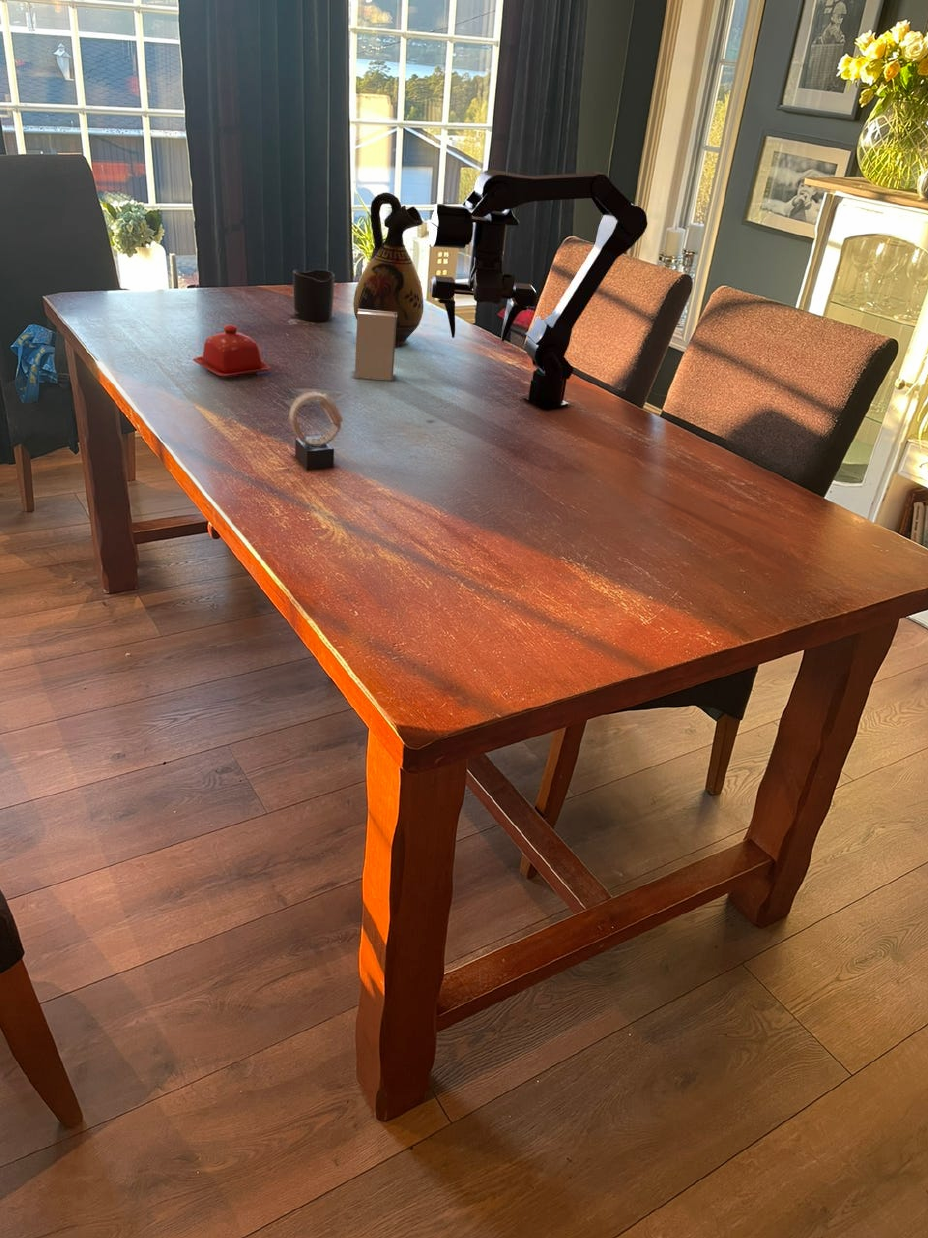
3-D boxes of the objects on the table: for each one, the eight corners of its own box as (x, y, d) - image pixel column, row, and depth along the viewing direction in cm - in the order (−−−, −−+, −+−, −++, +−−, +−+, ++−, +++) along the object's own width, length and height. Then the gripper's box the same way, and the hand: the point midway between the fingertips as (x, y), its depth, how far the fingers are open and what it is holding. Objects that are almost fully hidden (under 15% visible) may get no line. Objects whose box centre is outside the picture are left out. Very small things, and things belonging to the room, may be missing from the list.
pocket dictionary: (392, 375, 188) (396, 312, 182) (392, 380, 185) (396, 316, 179) (355, 372, 187) (357, 308, 181) (354, 377, 184) (357, 313, 178)
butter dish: (219, 382, 174) (218, 336, 169) (190, 364, 181) (188, 319, 176) (273, 375, 181) (273, 330, 176) (243, 358, 188) (242, 314, 183)
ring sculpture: (345, 466, 146) (348, 398, 141) (295, 471, 143) (296, 401, 137) (332, 453, 150) (334, 386, 145) (284, 457, 147) (284, 388, 141)
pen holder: (299, 309, 224) (299, 266, 219) (337, 315, 223) (339, 271, 218) (287, 319, 216) (287, 273, 211) (327, 324, 215) (328, 279, 210)
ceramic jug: (434, 342, 212) (447, 199, 196) (394, 355, 200) (404, 203, 185) (374, 325, 219) (381, 186, 203) (332, 336, 207) (336, 189, 192)
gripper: (438, 254, 157) (430, 347, 165) (547, 264, 159) (534, 355, 167) (433, 241, 166) (426, 330, 174) (536, 251, 169) (524, 338, 177)
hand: (477, 339), depth 173 cm, fingers open, 9 cm apart
